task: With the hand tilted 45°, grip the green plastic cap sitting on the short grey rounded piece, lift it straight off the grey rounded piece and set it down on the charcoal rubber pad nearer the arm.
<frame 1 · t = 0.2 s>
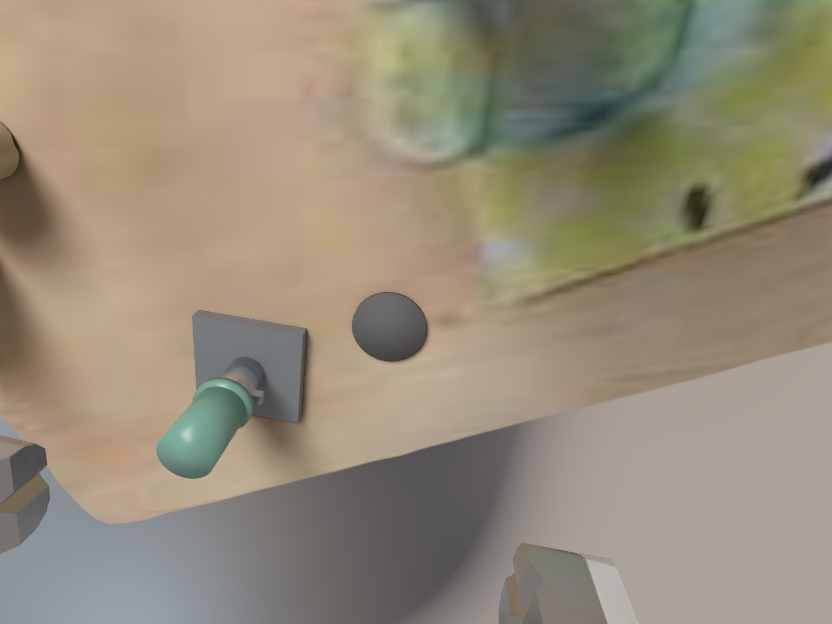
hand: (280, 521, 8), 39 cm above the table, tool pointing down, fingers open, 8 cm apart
cap: (226, 401, 47), point 7 cm above the table, touching grey rounded piece
post slab: (252, 365, 54), on the table
grey rounded piece: (237, 386, 50), on the post slab, point 4 cm above the table
pad: (389, 326, 50), on the table
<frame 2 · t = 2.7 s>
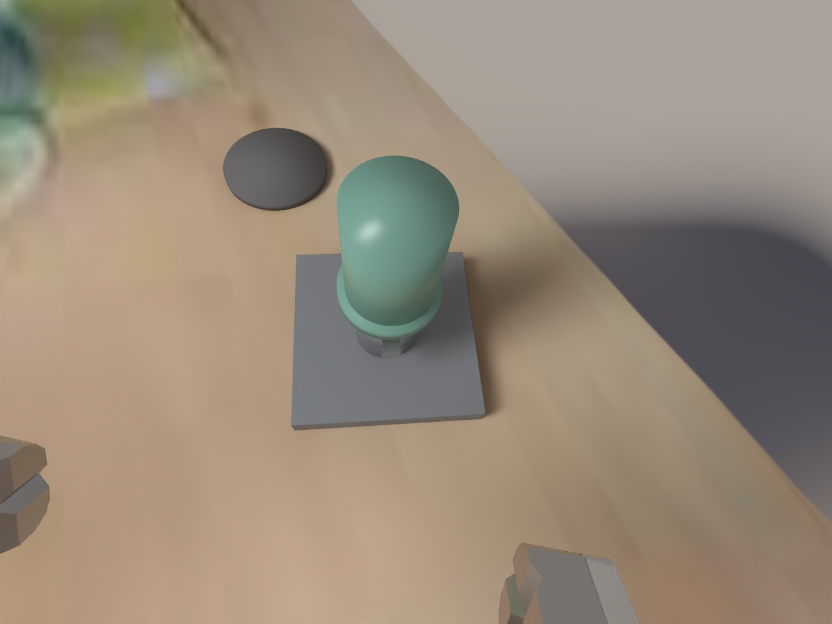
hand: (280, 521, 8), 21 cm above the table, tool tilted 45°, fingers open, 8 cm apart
cap: (389, 292, 26), point 7 cm above the table, touching grey rounded piece
post slab: (384, 338, 33), on the table
grey rounded piece: (387, 312, 29), on the post slab, point 4 cm above the table
pad: (276, 170, 38), on the table
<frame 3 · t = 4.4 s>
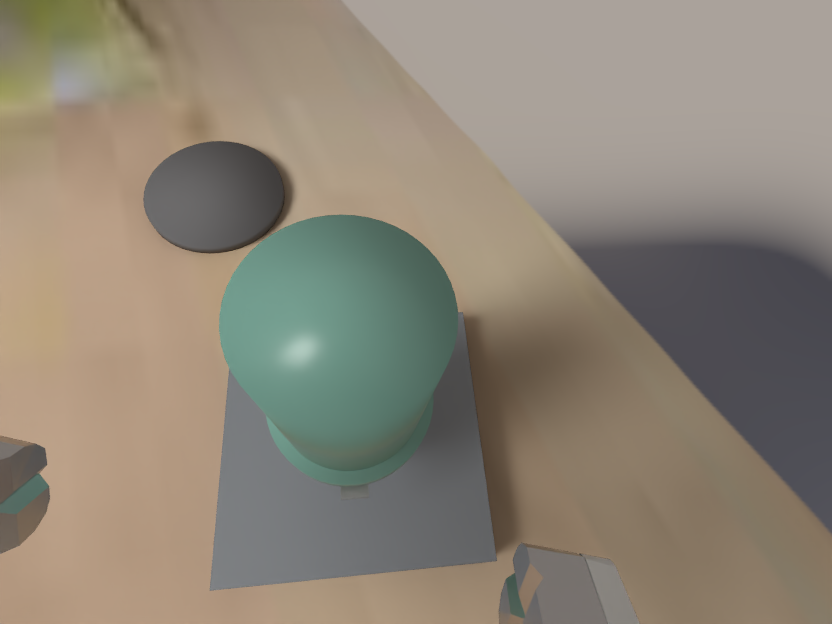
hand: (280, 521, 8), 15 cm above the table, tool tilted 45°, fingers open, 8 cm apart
cap: (351, 402, 17), point 7 cm above the table, touching grey rounded piece
post slab: (355, 436, 23), on the table
grey rounded piece: (353, 418, 20), on the post slab, point 4 cm above the table
pad: (217, 197, 29), on the table
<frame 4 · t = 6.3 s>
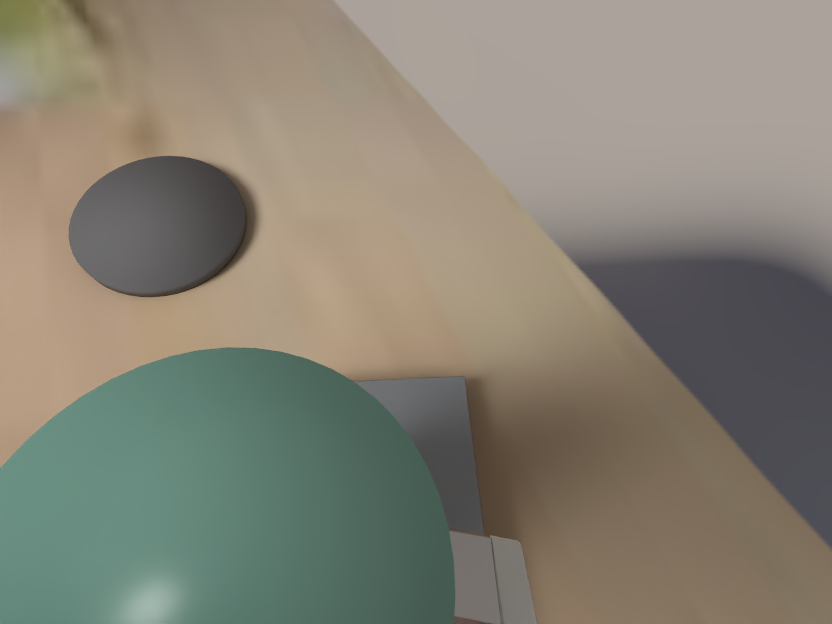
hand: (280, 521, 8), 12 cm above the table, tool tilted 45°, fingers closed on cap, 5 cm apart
cap: (303, 551, 12), point 7 cm above the table, touching gripper, grey rounded piece
post slab: (324, 543, 18), on the table
pad: (163, 225, 23), on the table
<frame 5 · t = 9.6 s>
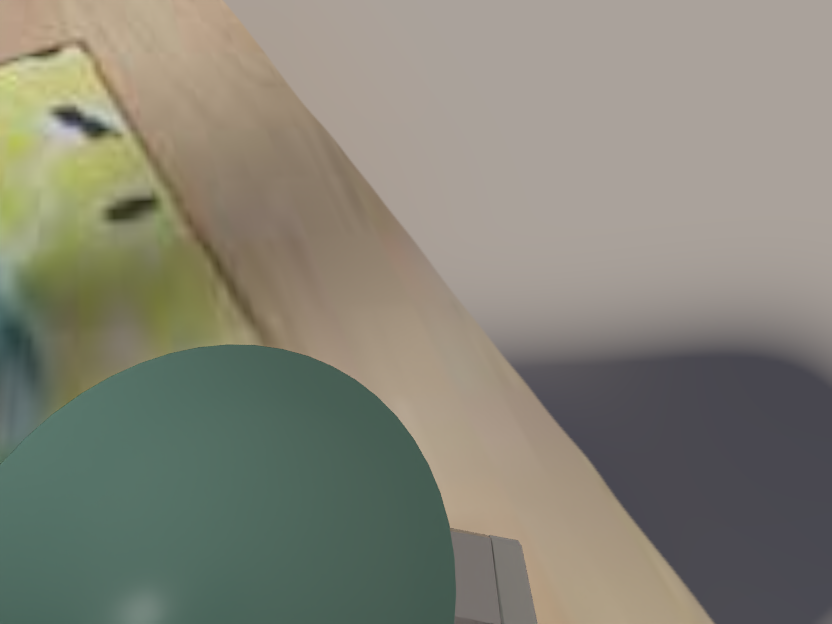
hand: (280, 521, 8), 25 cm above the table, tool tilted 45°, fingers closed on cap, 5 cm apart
cap: (303, 549, 12), point 21 cm above the table, touching gripper
when the fingers open (7 cm above the table, at t = 13.0 s): cap drops 2 cm, resting on pad.
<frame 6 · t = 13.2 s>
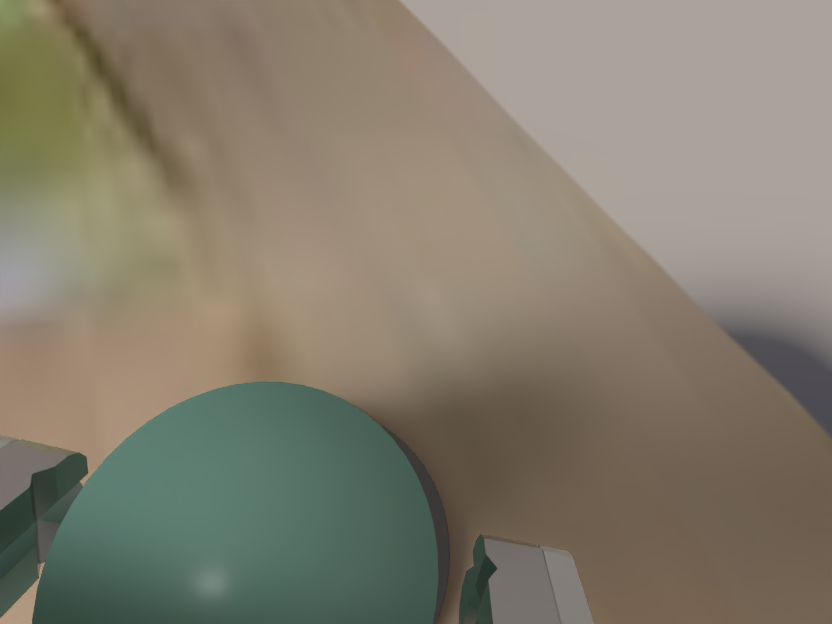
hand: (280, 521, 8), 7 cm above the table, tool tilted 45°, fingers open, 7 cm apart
cap: (312, 547, 13), point 1 cm above the table, touching pad
pad: (312, 548, 14), on the table
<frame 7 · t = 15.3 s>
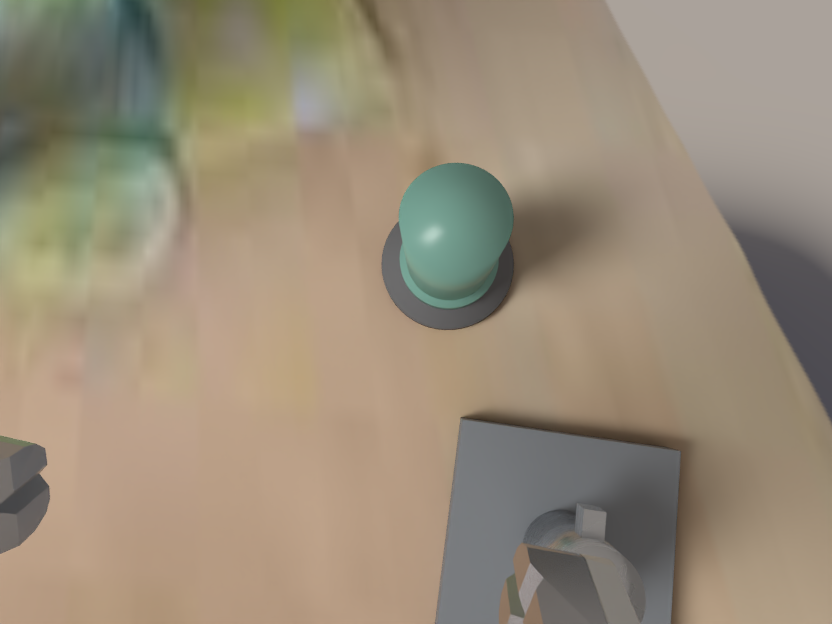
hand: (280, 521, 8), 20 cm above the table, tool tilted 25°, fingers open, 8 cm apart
cap: (448, 262, 28), point 1 cm above the table, touching pad
post slab: (552, 539, 26), on the table
grey rounded piece: (576, 570, 22), on the post slab, point 4 cm above the table
pad: (447, 265, 29), on the table
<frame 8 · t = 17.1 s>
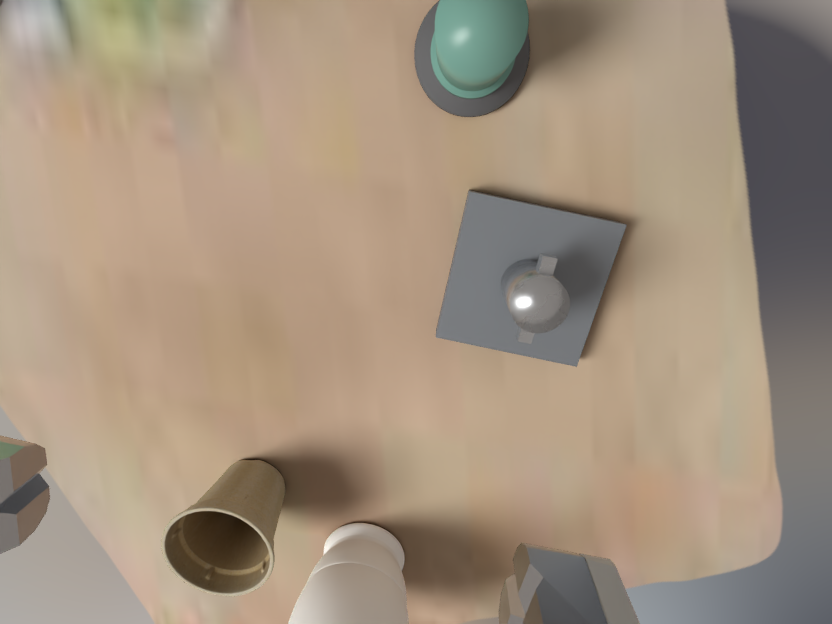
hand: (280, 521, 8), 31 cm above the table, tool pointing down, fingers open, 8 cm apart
cap: (472, 53, 32), point 1 cm above the table, touching pad
flower pot: (257, 482, 47), on the table
jar: (365, 551, 49), on the table
post slab: (523, 279, 38), on the table
grey rounded piece: (532, 294, 34), on the post slab, point 4 cm above the table
pad: (471, 56, 33), on the table
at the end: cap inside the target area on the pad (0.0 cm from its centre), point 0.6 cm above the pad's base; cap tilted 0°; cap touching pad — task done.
